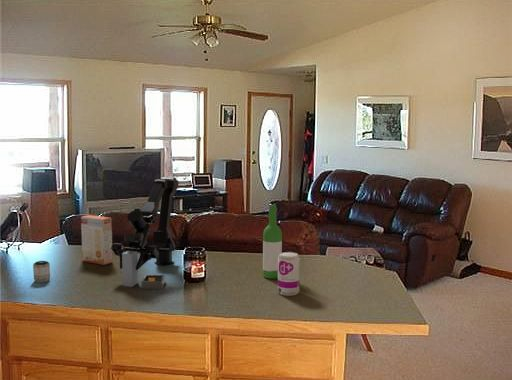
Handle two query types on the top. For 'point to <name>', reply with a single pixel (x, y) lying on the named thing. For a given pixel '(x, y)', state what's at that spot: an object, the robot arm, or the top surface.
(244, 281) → the top surface
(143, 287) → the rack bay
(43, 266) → the camera lens
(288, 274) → the supplement can
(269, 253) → the wine bottle
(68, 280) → the top surface
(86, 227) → the cracker box
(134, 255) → the grey rectangular prism
